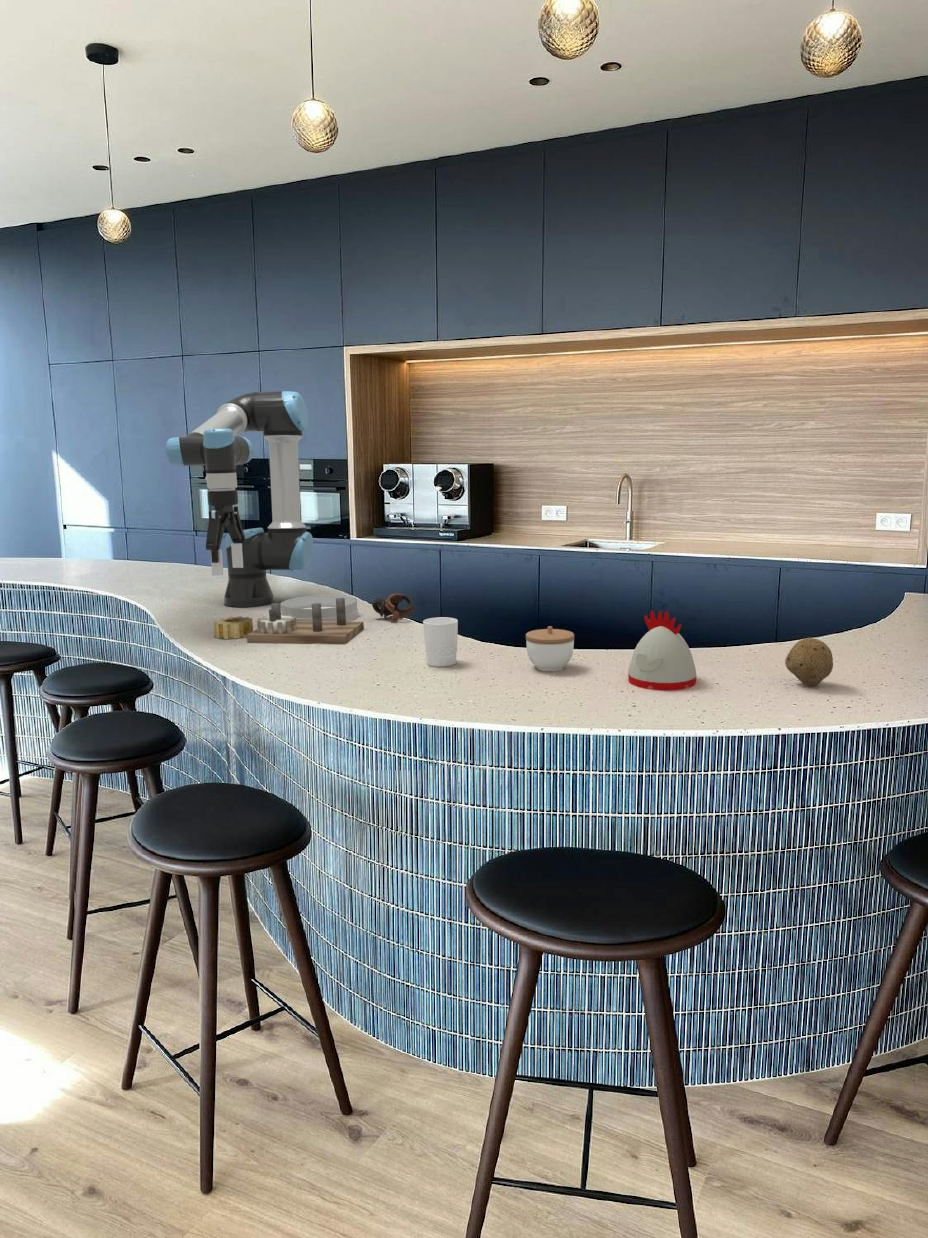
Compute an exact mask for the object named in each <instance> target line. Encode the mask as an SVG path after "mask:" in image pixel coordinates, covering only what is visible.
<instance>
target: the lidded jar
mask: <svg viewBox="0 0 928 1238" xmlns="http://www.w3.org/2000/svg"><path fill="white" fill-rule="evenodd" d="M525 640H526V642H525V643H526V651H527V657H528V659H529V660H530V662H531V663H532V664H533V665H534V666H535V667H536V669H537V670H539V671H542V672H558V671H562V670H564V669H565V666H567V664H568V663H569V662H570V661H571V659H572V657H573V654H574V645H575V633H574V632H572V631H570V630H566V629H559V628H553V626H551V625H550V626H547V628H543V629H534V630H530V631H528V632H527V633H525Z"/></svg>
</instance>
